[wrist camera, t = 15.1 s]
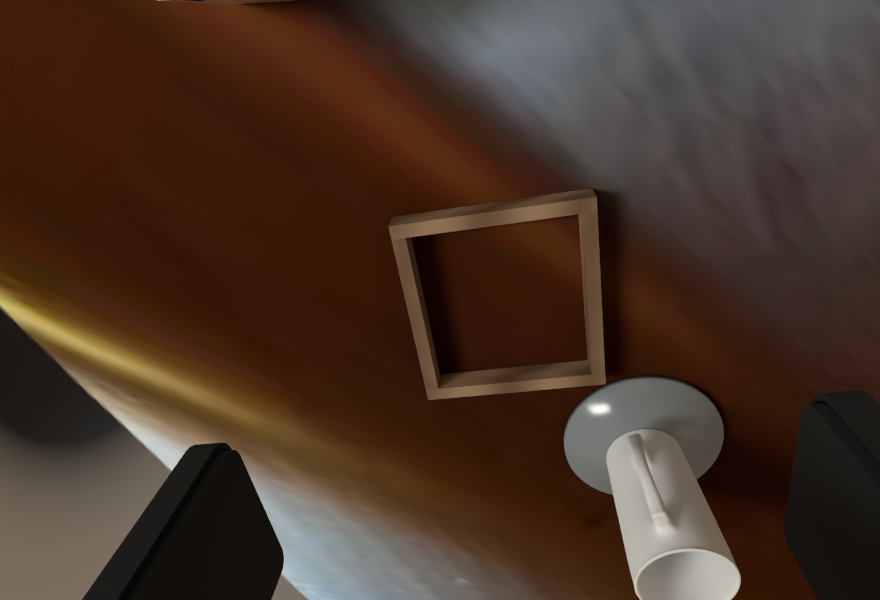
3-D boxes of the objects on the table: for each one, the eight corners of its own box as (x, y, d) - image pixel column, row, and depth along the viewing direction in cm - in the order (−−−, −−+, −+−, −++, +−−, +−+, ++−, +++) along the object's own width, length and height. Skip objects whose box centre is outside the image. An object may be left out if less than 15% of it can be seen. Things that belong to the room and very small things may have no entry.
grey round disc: (725, 367, 43) (728, 372, 42) (717, 488, 48) (719, 493, 48) (557, 383, 45) (558, 387, 44) (568, 496, 51) (569, 501, 50)
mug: (692, 473, 47) (750, 605, 36) (616, 492, 49) (650, 624, 38) (661, 384, 43) (715, 503, 33) (579, 409, 45) (605, 529, 34)
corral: (591, 188, 37) (596, 196, 35) (601, 369, 44) (605, 384, 42) (393, 216, 39) (388, 226, 37) (430, 385, 46) (428, 399, 44)
